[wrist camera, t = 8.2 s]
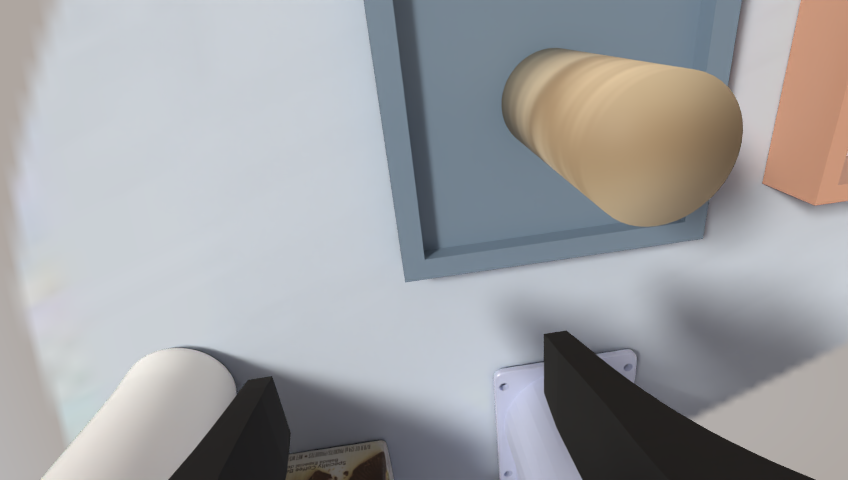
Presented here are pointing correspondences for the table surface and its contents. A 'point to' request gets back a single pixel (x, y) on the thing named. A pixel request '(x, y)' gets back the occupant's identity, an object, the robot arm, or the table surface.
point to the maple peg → (626, 130)
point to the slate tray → (488, 134)
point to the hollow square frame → (814, 109)
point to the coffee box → (342, 463)
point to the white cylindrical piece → (150, 419)
